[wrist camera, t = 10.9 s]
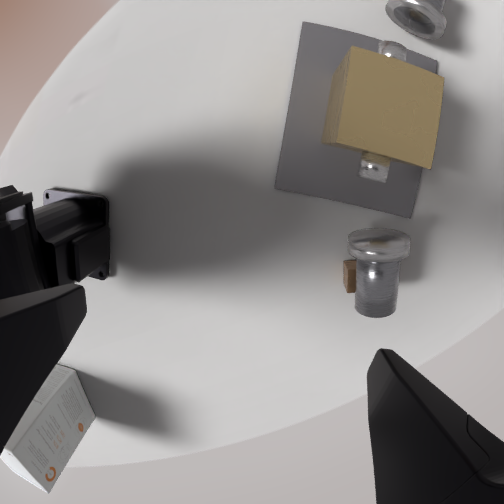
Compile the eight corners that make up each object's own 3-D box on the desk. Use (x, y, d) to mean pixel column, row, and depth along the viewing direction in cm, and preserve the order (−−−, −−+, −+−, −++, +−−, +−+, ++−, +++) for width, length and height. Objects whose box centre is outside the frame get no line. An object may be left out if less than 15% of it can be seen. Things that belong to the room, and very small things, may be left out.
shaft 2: (422, 49, 14) (453, 29, 10) (374, 20, 14) (395, -8, 10) (438, 7, 13) (467, -16, 8) (393, -20, 13) (414, -50, 8)
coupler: (317, 162, 18) (330, 171, 12) (335, 57, 15) (354, 22, 10) (385, 179, 17) (424, 195, 12) (402, 77, 15) (445, 55, 9)
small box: (37, 355, 28) (-27, 425, 15) (76, 369, 27) (11, 453, 15) (59, 403, 30) (10, 470, 18) (97, 417, 30) (50, 495, 17)
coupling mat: (274, 187, 19) (274, 188, 18) (302, 23, 15) (302, 21, 15) (408, 217, 18) (410, 218, 18) (435, 61, 14) (436, 60, 14)
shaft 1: (340, 225, 19) (354, 249, 15) (393, 223, 18) (420, 245, 14) (340, 288, 20) (352, 324, 16) (390, 284, 20) (411, 318, 16)
